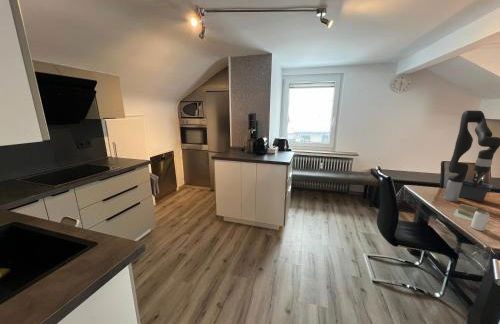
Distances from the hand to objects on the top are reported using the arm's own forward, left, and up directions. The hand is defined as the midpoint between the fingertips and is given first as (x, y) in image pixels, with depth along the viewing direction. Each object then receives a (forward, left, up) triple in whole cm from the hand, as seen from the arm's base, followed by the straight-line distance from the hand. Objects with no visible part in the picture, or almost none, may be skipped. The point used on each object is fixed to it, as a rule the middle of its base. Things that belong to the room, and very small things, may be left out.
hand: (476, 186), depth 150 cm
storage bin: (-43, -3, -22) cm, 49 cm away
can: (+24, +6, -22) cm, 33 cm away
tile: (+5, -1, -21) cm, 22 cm away
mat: (+6, -1, -22) cm, 23 cm away
